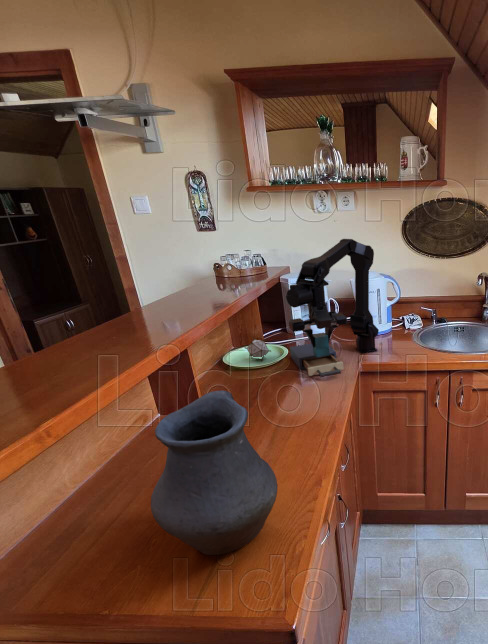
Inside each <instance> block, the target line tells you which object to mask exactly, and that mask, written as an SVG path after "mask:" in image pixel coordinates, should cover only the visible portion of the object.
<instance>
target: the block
mask: <svg viewBox="0 0 488 644" xmlns="http://www.w3.org/2000/svg"><path fill="white" fill-rule="evenodd" d="M313 338H314V344H315V348H313V354H314V355H315V356H316V357H323V356H329V346H330V342H329V343H328V336H327V335H326V334H325V332H318V333H313Z"/></svg>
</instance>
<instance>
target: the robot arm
mask: <svg viewBox="0 0 488 644" xmlns="http://www.w3.org/2000/svg"><path fill="white" fill-rule="evenodd" d="M346 256H348V257H349V258H350V264H351V266H352V268H353V269H354V288H355V291H354V295H355V297H354V298H355V310H354V312H353V313H352V314H350V316H349V320H350V321H349V326H350V328H351V330H352V333H353V335H354V336H356V337H357V338H356V339H355V346H356V347H355V349H356V350H357V351H359V353H361V354H366V353H371V352H372V353H373V352H377V351H378V349H377V348H376V338H377V336H378V335H379V330H380V329H378V327H377V326H376V325H375V323H374V318H373V315H372V313H371V311H370V308H369V307H370V297H369V296H370V295H369V293H370V290H369V289H370V286H369V285H370V280H369V279H370V270H371V268H372V266H373V265H374V256H375V252H374V248H372V246H371V245H368V244H367V245H366V244H364V243H361V242H358V241H357V240H355V239H353V238H342V239H340V240H339V242H338V243H335V244H334V246H332V247H330V248H329V249H328V250H326V251H325V252H323V254H321V255H319V256H317V257H313V258H310V259H307V260H305V261H304V262H303V263H302V264H301V269H300V271H299V273H298V276H297V278H296V281H295V284H289V289H288V290H287V291H286V295H285V299H286V302H287V304H288V305H289V306H290V307H291V308H299V307H302V306H305V305H307V310H308V319H307V320H303V319H302V318H300V317H298V318H291V319H289V320H288V328H289V329H290V330H291V331H292V332H294V333H296V332H303V333H305V334H306V336H307V338H308V340H309V343H310V344H312V346H313V348H315V344H314V338H313V334H314V332H313V331H314V330H313V329H312V326H316V328H317V329H318V330H322V329H324V333H325V334H326V335H327V336H328V343H329V344H330V341H331V337H332V333H333V331H334V330H335V329H336V328H338V327H339V326H343V325H348V317H347V316H346V315H345V314H343V313H342V312H337V311H336V310H332V311H329V309H328V306H327V304H326V294H325V293H326V292H325V287H327V286H329V282H328V281H326V280H325V279H326V277H327V276H328V275H329V274H330V271H331V268H332V267H333V266H335V265H336V264H337V263H338V262H340V261H341V260H342V259H344V258H345V257H346Z"/></svg>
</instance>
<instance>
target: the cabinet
mask: <svg viewBox="0 0 488 644" xmlns="http://www.w3.org/2000/svg"><path fill="white" fill-rule="evenodd" d="M289 349H290V358H291V359H292V361H293V362H294V363H295V365H296V366H297V367H298V368H299V370H307V369H306V368H305V367H304V366H303V364H302V360H303V359H309V358H315V357H316V356H315V355H314V354H313V346H312V344H311V343H306V344H301V345H294V346H290V347H289ZM329 355H333V356H334V357H335V358H336V359H337V352H336V351H335V349H333V348H332V347H331V346H330V345H329Z"/></svg>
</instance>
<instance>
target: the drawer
mask: <svg viewBox="0 0 488 644" xmlns="http://www.w3.org/2000/svg"><path fill="white" fill-rule="evenodd" d="M302 364H303V366H304V367H305V368H306V369H305V370H307V376H308V377H311V376H316V375H319V377H320V378H324V377H331V376H335V375H339V374H342V371H341V370H345V368H344V361H339V359H338V358H337V357H336V358H335V357H334V356H333V355H329V356H323V357H315V358H309V359H303V360H302Z"/></svg>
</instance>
